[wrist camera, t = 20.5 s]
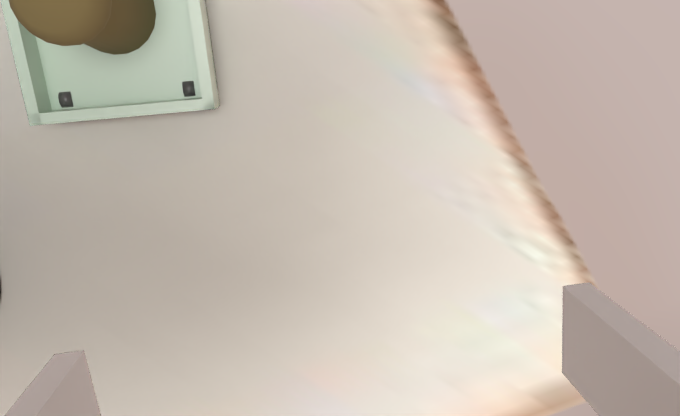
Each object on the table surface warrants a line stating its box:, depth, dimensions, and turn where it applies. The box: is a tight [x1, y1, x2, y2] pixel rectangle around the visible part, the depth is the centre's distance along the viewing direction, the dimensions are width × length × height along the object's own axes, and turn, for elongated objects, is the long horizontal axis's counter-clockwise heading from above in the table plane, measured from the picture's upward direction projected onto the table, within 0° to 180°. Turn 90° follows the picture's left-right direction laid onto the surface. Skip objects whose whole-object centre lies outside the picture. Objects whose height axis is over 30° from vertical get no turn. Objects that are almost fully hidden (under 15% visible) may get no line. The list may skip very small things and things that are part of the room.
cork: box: [9, 0, 156, 55], centre depth 34 cm, size 6×6×11 cm
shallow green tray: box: [0, 0, 220, 126], centre depth 39 cm, size 13×13×3 cm
